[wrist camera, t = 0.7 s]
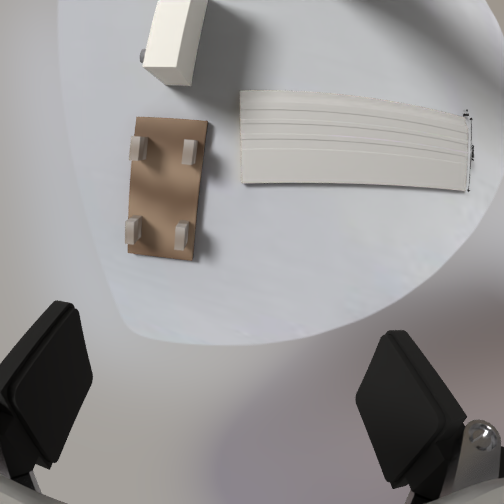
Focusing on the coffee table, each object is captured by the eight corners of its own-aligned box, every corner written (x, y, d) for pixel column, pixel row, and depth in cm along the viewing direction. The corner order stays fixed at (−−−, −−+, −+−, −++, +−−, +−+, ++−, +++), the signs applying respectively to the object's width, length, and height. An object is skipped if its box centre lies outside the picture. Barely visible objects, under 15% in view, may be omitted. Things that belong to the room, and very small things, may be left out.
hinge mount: (139, 117, 30) (127, 114, 27) (208, 121, 31) (204, 118, 27) (130, 250, 36) (119, 261, 32) (192, 257, 36) (188, 270, 33)
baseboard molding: (239, 80, 30) (241, 181, 34) (239, 74, 28) (241, 185, 32) (461, 108, 32) (459, 189, 36) (473, 107, 29) (471, 192, 33)
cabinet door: (175, -2, 25) (160, -38, 17) (208, -2, 26) (201, -39, 17) (156, 84, 29) (131, 67, 21) (191, 86, 30) (176, 67, 21)
